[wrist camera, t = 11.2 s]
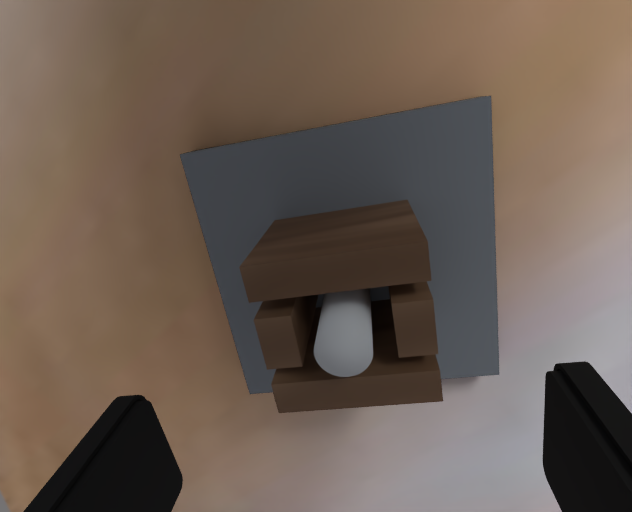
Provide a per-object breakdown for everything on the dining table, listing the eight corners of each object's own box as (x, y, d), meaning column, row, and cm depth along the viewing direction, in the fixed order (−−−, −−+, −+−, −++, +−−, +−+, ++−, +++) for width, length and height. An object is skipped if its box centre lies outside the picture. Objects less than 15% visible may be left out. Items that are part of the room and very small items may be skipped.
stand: (192, 151, 20) (82, 181, 12) (480, 96, 18) (577, 89, 10) (256, 377, 25) (206, 506, 17) (490, 357, 22) (561, 495, 14)
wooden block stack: (274, 220, 19) (239, 267, 14) (407, 199, 18) (427, 241, 13) (300, 332, 21) (278, 413, 16) (420, 320, 20) (443, 401, 15)
